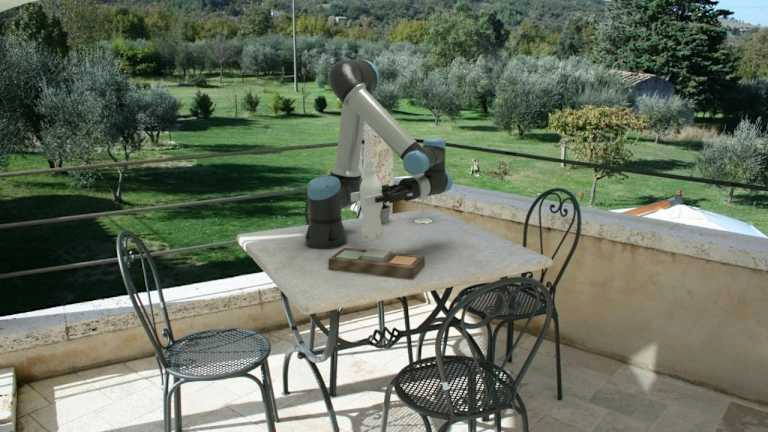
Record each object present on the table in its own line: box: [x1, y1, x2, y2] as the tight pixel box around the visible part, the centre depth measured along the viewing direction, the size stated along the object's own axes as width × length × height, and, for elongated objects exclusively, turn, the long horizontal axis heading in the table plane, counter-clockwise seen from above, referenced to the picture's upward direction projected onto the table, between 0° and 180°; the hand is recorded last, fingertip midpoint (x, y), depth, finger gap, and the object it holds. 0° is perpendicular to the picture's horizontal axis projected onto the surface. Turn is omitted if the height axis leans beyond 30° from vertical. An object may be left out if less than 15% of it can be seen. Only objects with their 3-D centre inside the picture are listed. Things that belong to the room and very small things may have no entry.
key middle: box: [362, 248, 392, 262], centre depth 195 cm, size 7×7×3 cm
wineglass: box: [412, 173, 433, 224], centre depth 246 cm, size 8×9×20 cm
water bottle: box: [359, 161, 384, 242], centre depth 197 cm, size 7×7×25 cm
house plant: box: [380, 201, 391, 224], centre depth 247 cm, size 14×14×16 cm
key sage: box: [336, 250, 365, 260], centre depth 199 cm, size 7×7×3 cm
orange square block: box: [389, 255, 418, 265], centre depth 193 cm, size 7×7×3 cm
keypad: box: [327, 247, 426, 280], centre depth 196 cm, size 28×12×4 cm, turn 69°
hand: (358, 199), depth 193 cm, fingers closed on water bottle, 7 cm apart
